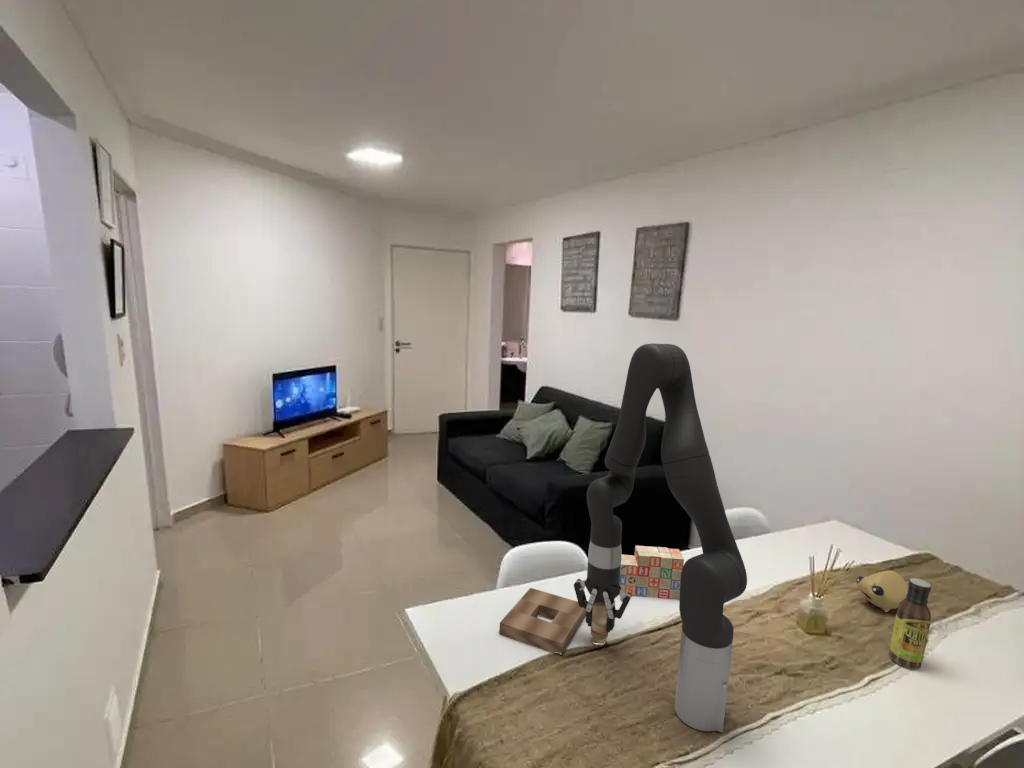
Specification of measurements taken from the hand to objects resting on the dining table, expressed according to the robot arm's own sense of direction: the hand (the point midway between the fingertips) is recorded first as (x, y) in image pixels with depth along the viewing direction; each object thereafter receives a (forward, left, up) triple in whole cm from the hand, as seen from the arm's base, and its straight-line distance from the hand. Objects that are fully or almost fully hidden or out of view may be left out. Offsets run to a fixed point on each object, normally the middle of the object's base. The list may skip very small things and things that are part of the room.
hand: (599, 627), depth 123 cm
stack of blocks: (-3, -28, -4) cm, 28 cm away
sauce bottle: (-65, -28, -4) cm, 71 cm away
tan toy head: (-64, -53, -4) cm, 83 cm away
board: (+14, 0, -4) cm, 14 cm away
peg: (0, 0, -4) cm, 4 cm away
